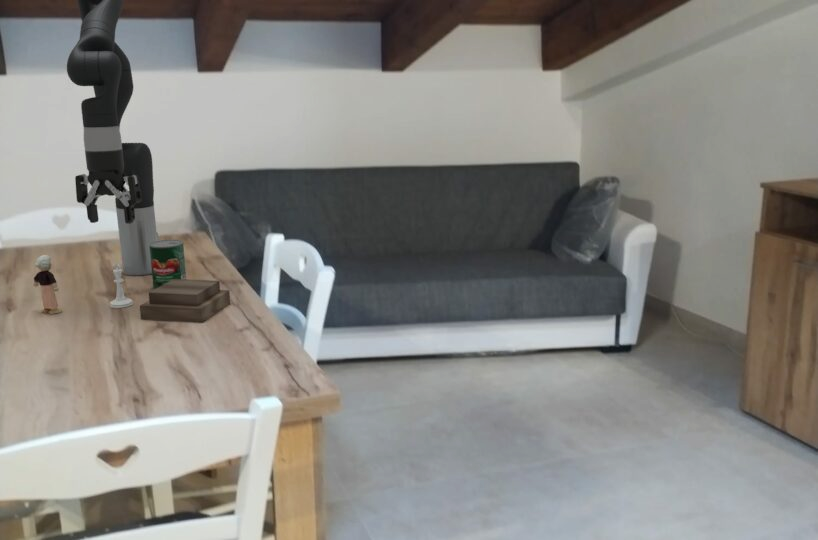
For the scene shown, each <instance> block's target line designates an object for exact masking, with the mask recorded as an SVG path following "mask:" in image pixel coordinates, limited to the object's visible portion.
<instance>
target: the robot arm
mask: <svg viewBox="0 0 818 540" xmlns="http://www.w3.org/2000/svg"><path fill="white" fill-rule="evenodd" d="M76 1H77V6H78V10H79V15H80V17H81V18H80V19H81V26H80V30H79V31H80V32H79V40H78V41H77V43H76V44H75V46H74V47H73V48H72V50H71V52H69V56H68V58H67V63H66V74H67V76H68V78H69V80H70V81H71V82H72V83H73V84H75V85H76V86H78V87H79V86H80V87H93V92H94V96H92V97H88V98H85V99H83V100H82V101H81V105H80V107H81V116H82V117H81V118H82V125H83V126H82V127H83V146H84V153H85V154H84V155H85V163H86V170H87V171H88V175H87V174H84V173H83V174H78V175H75V178H74V179H75V193H76V201H77V203H78V204H84V205H85V206H86V212H87V214H86V215H87V219H88V221H89V223H92V224H93V223H94V224H95V223H97V222H99V213H98V204H96V203H97V201H98V199H99V198H100V197H101V196H106V195H107V196H108V197H111V196H115V200H114V201H115V202H114V203H115V210H116V211H115V212H116V218H117V226H118V227H117V229H118V236H119V245H120V246H119V247H120V255H121V266H122V273H123V274H124V275H127V276H145V275H150V274H151V275H152V269H151V259H150V248H149V244H150V243H152V242H155V241H160V240H159V233H158V232H157V225H156V223H157V222H156V213H155V203H154V193H155V192H154V191H155V189H154V173H153V172H154V171H153V168H154V167H153V165H154V164H153V157H152V152H151V149H150V147H149V146H148V145H147V144H146V143H144V142H122V135H121V131H120V130H121V129H120V127H121V123H122V122H121V121H122V118H123V116H124V113H125V111H126V109H127V108H128V105H129V103H130V101H131V98H132V96H133V92H134V81H133V74H132V68H131V63H130V60H129V57H128V56H127V55H126V54H125V52H124V50H123V49H121V47H120V45H118V44H117V42H116V40H115V39H116V29H117V24H118V21H119V19H120V17H121V13H122V10H123V7H124V3H125V0H76ZM88 184H90V186H91V188H90V189H89V188H88ZM125 185H127V187H128V189H127V188H126V186H125ZM88 190H89V192H88Z"/></svg>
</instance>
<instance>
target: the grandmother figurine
mask: <svg viewBox="0 0 818 540" xmlns="http://www.w3.org/2000/svg"><path fill="white" fill-rule="evenodd" d="M35 267H36V268H38V270H40V271H39V272H37V273H36V274H35V276H34V277H33V286H34V287H36V288H37V287H40V288H41V299H42V306H43V307H42V308H43V309H42V310H41V313H42V314H46V313H48V314H49V315H54V314H60V313H63V309H62V308H60V307H59V303H58V299H57V296H56V292H58V291H59V287H58V283H57V279H56V277H55V275H54V273H52V272H51V271H50V270H51V268H52V263H51V257H50V256H49V255H47V254H43V255H40V256H39V257H38V258H37V259H36V261H35V263H34V268H35Z"/></svg>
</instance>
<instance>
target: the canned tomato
mask: <svg viewBox="0 0 818 540" xmlns="http://www.w3.org/2000/svg"><path fill="white" fill-rule="evenodd" d="M149 248H150V259H151V269H152V273H151V278H152V286H153V287H152V290H154V289H156V288H158V287H160V286H162V285H163V284H165V283H167V282H169V281H171V280H173V279H187V272H186V258H185V250H184V240H181V239H160V240H159V241H155V242H152V243H150V244H149Z"/></svg>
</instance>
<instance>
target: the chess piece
mask: <svg viewBox="0 0 818 540" xmlns="http://www.w3.org/2000/svg"><path fill="white" fill-rule="evenodd" d="M121 266H122V263H119V261H115V262H114V263H113V264H112V267H114V268H115V269H113V270H112V274H113V275H114V277H115V279H114V280H113V282H114V283H116V297H115V299H114V300H111V301H110V302H109V304H110V305H109V307H110V308H114V309H121V308H127V307H130V306H133V304H134V302H133V299H130V298H128V297H127V296H125V292H124V290H123V286H122V282H124V281H125V280H124V278H122V273H123V268H122V269H121Z"/></svg>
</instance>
